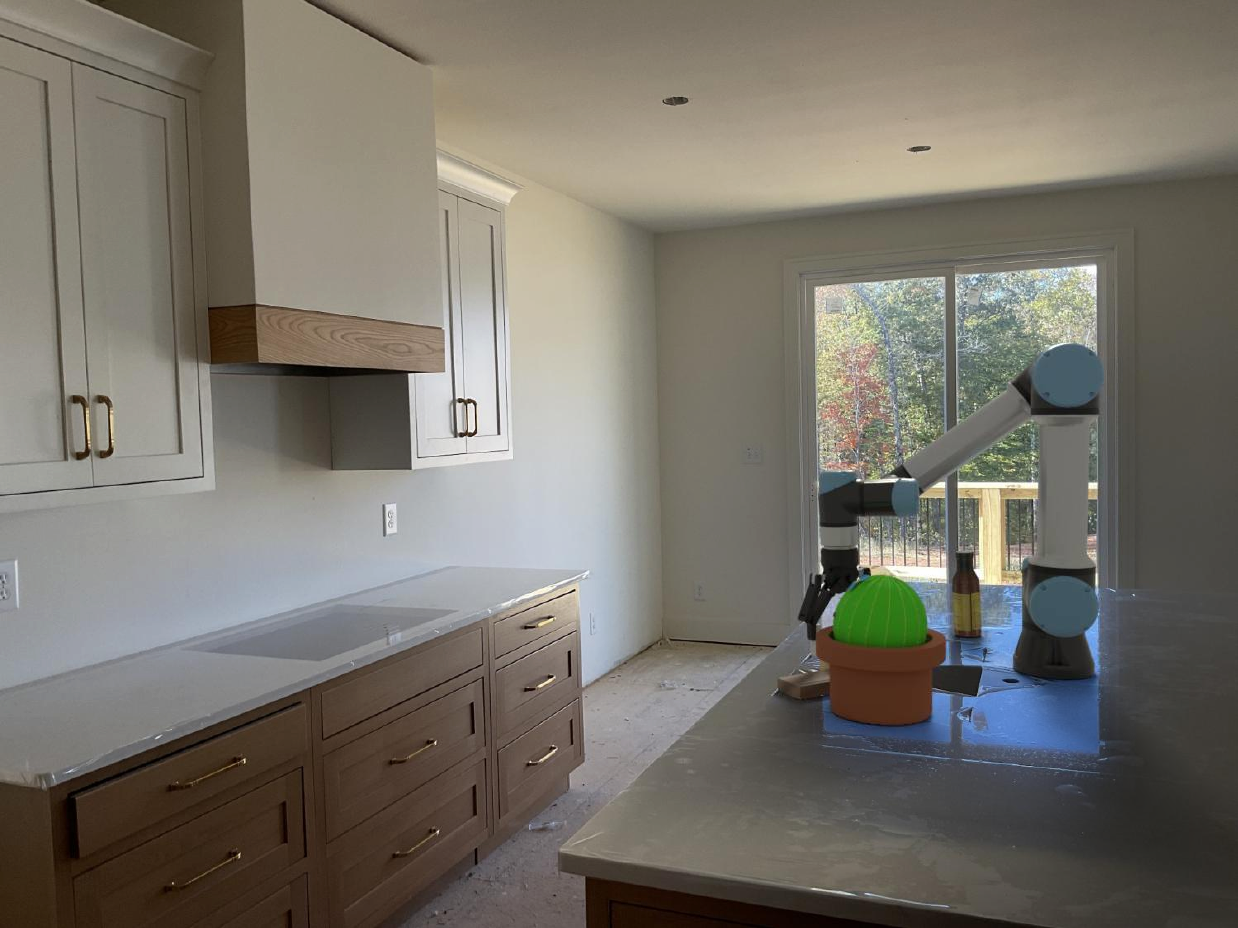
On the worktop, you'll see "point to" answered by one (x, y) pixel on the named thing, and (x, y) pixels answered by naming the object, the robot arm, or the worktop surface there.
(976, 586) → the sauce bottle
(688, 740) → the worktop surface
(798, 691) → the board
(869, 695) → the potted cactus
